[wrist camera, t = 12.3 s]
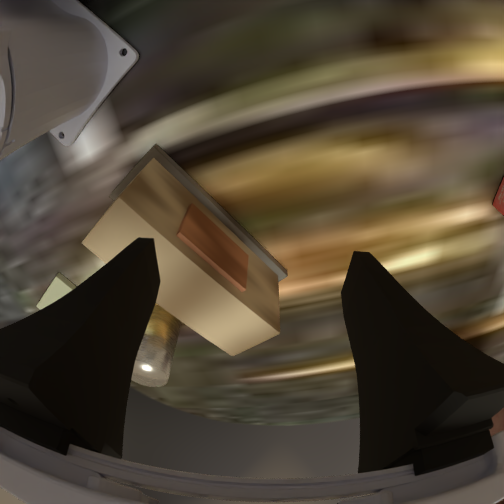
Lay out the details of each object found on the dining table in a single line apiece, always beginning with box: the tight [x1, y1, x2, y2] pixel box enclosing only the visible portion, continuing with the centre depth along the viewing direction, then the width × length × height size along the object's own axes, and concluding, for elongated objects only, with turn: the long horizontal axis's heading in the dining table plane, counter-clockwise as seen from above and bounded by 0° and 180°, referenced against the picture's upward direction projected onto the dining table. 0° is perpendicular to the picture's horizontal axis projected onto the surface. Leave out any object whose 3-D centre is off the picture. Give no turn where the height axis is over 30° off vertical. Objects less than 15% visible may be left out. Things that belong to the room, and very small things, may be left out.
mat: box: [36, 273, 76, 310], centre depth 28 cm, size 10×7×1 cm
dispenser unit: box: [82, 144, 288, 356], centre depth 19 cm, size 13×5×6 cm, turn 41°
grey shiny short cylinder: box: [131, 305, 181, 387], centre depth 25 cm, size 4×4×6 cm
